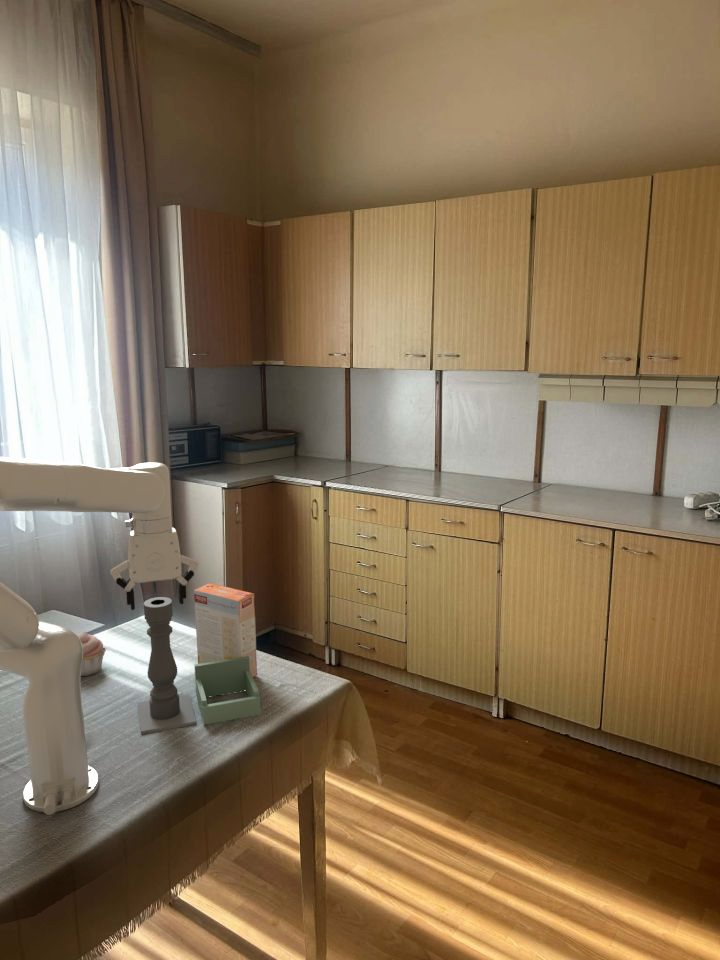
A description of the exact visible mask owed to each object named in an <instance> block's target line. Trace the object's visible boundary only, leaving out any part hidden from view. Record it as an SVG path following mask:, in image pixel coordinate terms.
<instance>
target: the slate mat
mask: <svg viewBox="0 0 720 960" xmlns="http://www.w3.org/2000/svg"><path fill="white" fill-rule="evenodd" d="M179 703H180V712H179V714H178V715H176V716H175V717H173V718H170V719H166V720H157V719H154V718H152V717H151V716H150V703H149V700H146V701H139V702H137V709H138V718H139V726H140V729H139V730H140V734H141V735H144V734H148V733H155V732H159V731H160V732H161V731H164V730H170V729H177V728H182V727H187V725H188V726H193V725H196V724H197V722H196V721H197V720H196V718H195V713H194V709H193V706H192V701H191V697H190V694H189V693H187V694H181V695H180V694H179ZM192 724H193V725H192Z"/></svg>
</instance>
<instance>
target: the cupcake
mask: <svg viewBox="0 0 720 960" xmlns="http://www.w3.org/2000/svg"><path fill="white" fill-rule="evenodd" d="M77 636H78V637H79V639H80V640H81V642H82V646H83V660H82V667H81V677H87V676H92V675H95V674H97V673H98V672H99V671H100V670H101V669H102V667H103V661H104V660H103V659H104V656H105V653H106V651H107V648H106V647H104V644H103V641H102V640H101V639H98V637H97V636H94V635H93V634H89V633H87V631H83V632H79V634H77Z"/></svg>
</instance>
